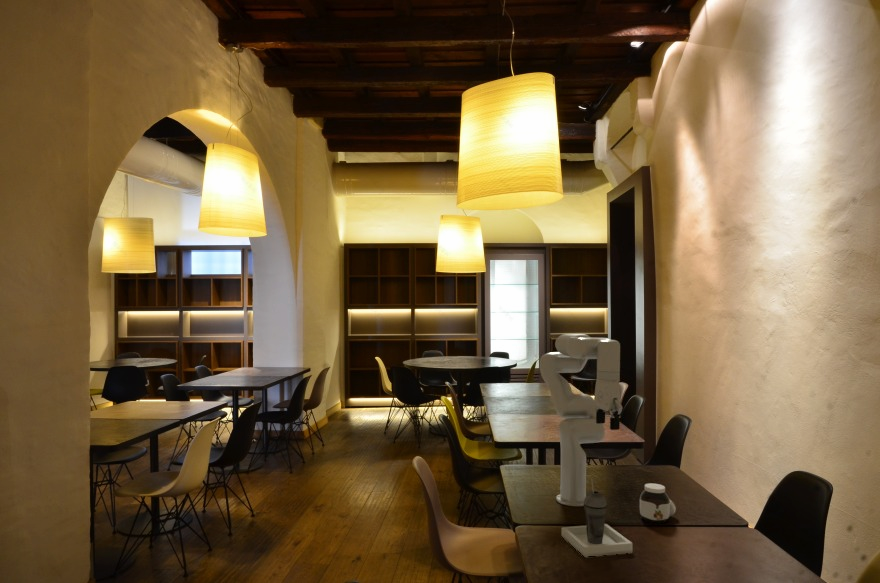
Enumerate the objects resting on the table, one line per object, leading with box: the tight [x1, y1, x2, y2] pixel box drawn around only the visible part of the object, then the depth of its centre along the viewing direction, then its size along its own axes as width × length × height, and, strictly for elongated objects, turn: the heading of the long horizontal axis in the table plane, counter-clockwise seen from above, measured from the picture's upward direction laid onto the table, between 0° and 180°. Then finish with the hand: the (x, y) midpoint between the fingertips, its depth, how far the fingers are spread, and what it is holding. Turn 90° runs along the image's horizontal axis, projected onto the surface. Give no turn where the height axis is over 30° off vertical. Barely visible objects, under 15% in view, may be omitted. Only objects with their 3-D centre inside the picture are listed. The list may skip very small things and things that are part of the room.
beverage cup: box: [583, 477, 608, 544], centre depth 188 cm, size 7×7×20 cm
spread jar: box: [639, 482, 677, 524], centre depth 212 cm, size 12×11×12 cm
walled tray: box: [561, 523, 634, 558], centre depth 188 cm, size 16×16×3 cm
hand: (607, 426), depth 203 cm, fingers open, 9 cm apart
